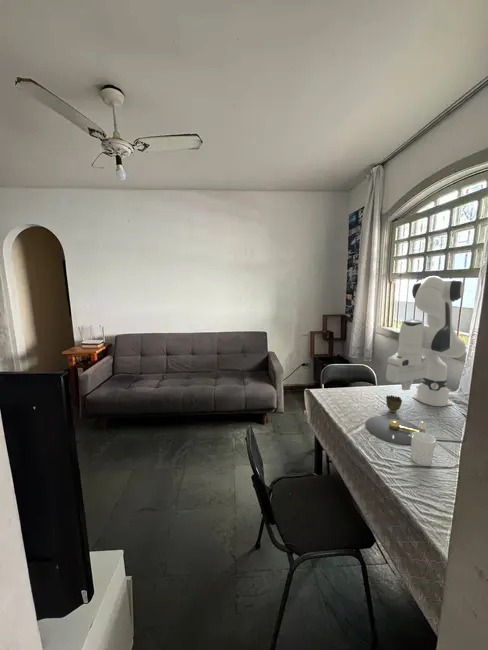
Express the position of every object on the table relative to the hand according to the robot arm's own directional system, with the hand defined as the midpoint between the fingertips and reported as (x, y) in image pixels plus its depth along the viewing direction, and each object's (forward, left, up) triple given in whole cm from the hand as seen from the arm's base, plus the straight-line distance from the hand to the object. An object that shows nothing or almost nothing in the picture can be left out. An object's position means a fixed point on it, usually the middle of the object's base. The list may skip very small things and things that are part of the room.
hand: (405, 389), depth 120 cm
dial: (-7, -3, -23) cm, 24 cm away
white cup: (+13, +7, -23) cm, 28 cm away
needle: (-7, +2, -22) cm, 23 cm away
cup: (-27, -4, -23) cm, 36 cm away
